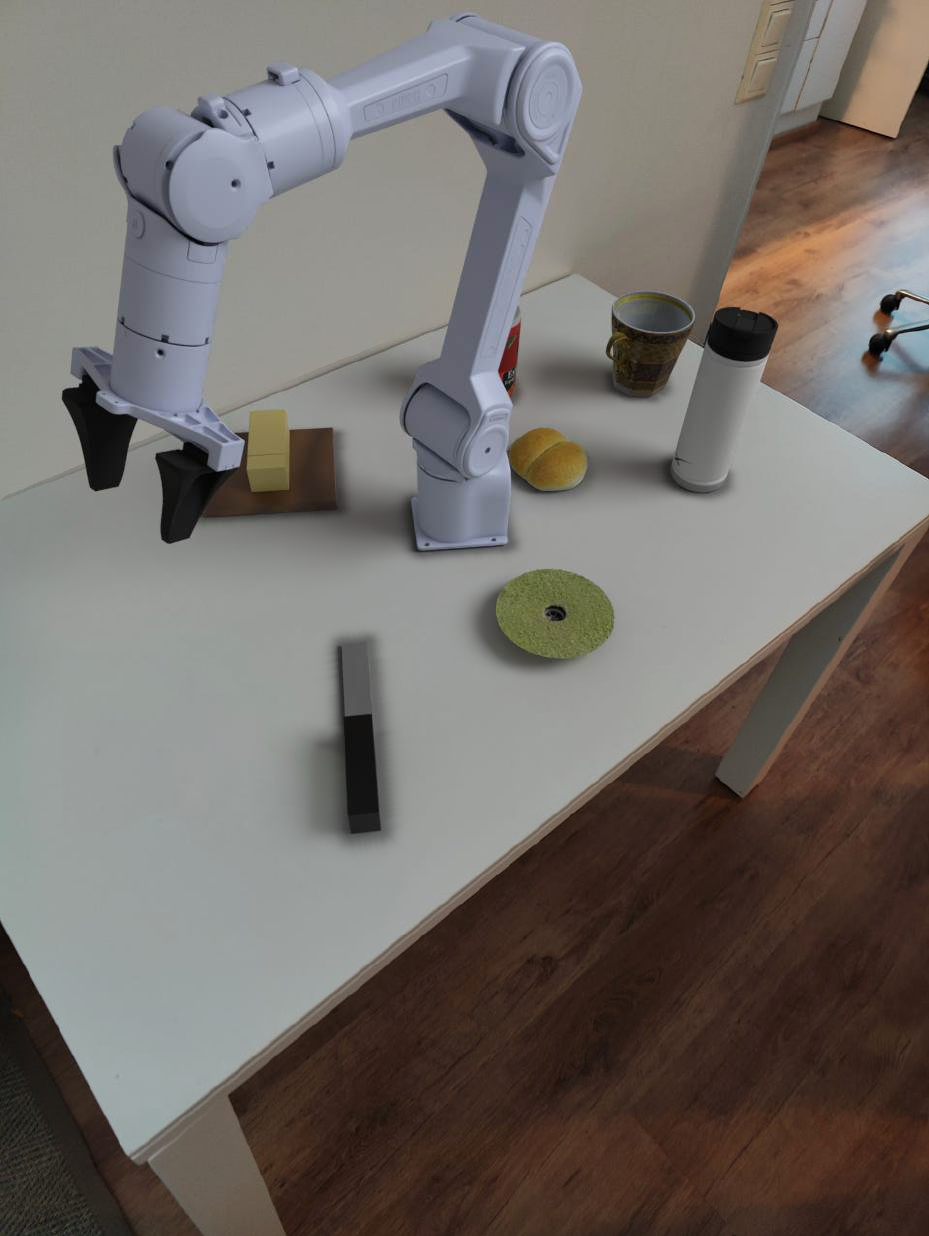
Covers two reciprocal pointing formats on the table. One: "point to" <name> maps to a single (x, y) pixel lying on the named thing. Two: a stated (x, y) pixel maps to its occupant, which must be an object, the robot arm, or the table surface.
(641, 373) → the ceramic cup
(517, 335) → the canned food
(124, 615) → the table surface
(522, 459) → the bread roll
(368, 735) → the two-tone black bar
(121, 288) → the robot arm
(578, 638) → the green abrasive disc
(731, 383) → the travel mug
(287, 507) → the butter board
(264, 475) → the butter pat
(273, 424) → the butter stick
